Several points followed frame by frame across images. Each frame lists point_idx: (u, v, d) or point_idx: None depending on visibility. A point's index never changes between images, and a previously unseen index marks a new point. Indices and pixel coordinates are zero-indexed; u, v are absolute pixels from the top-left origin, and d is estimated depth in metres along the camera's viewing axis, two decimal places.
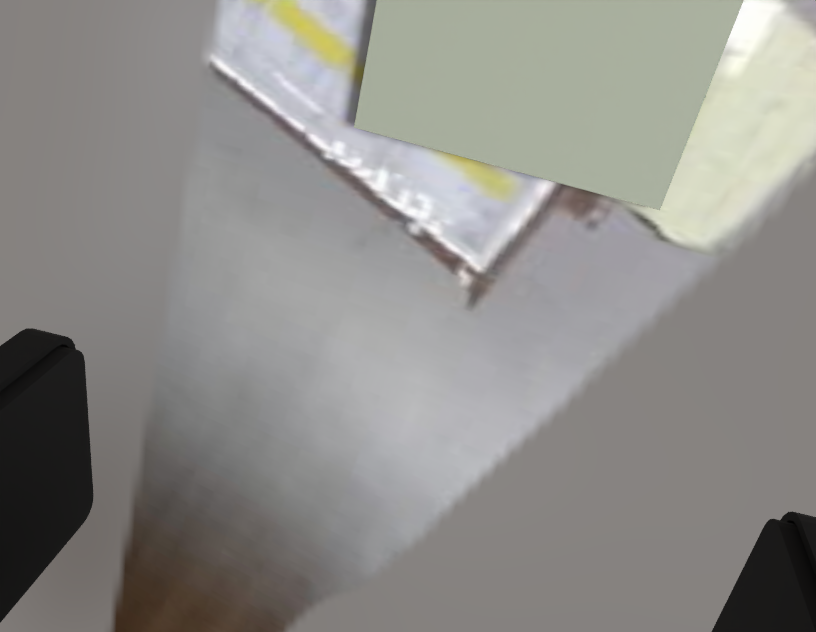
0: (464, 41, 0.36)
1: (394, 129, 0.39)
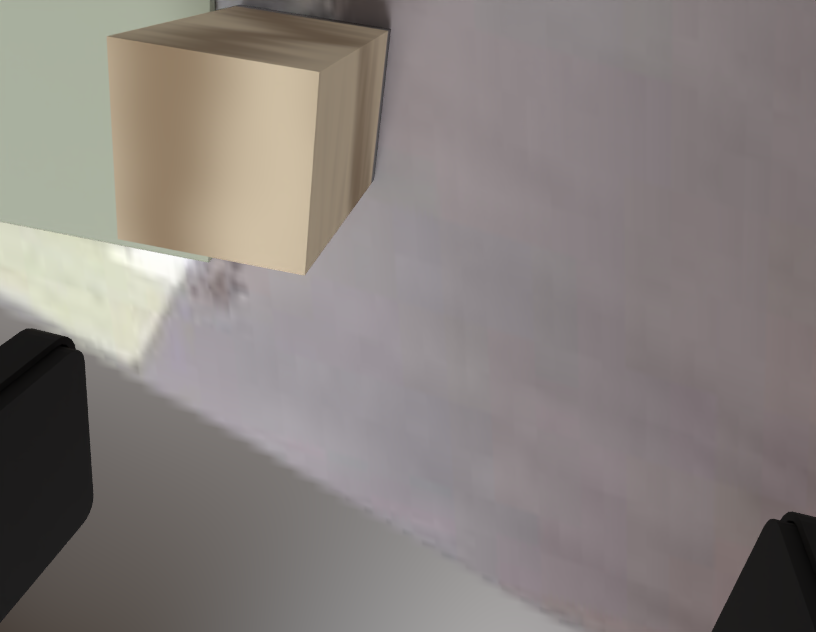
0: None
1: None
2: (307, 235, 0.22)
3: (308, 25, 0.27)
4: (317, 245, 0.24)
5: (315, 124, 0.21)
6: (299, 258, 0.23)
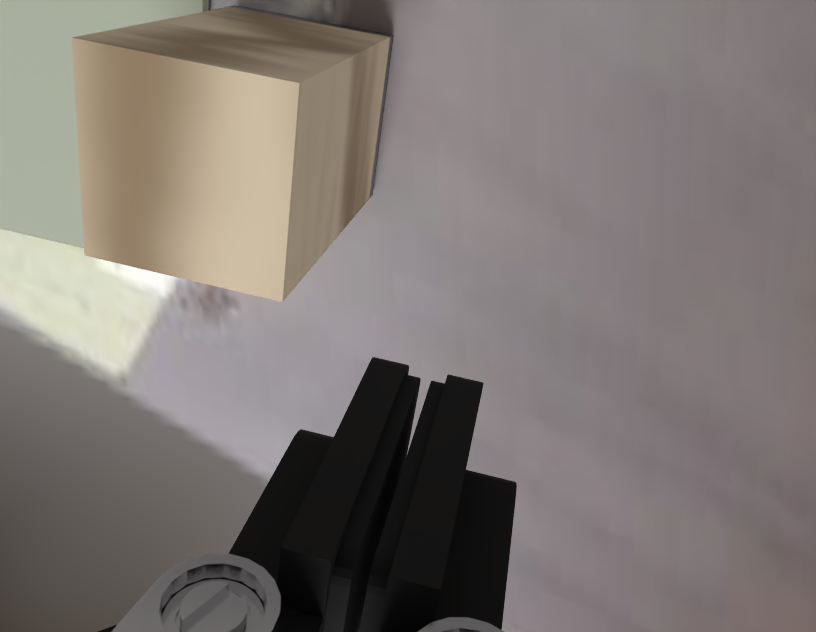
0: None
1: None
2: (285, 260, 0.20)
3: (303, 29, 0.25)
4: (299, 268, 0.22)
5: (295, 140, 0.19)
6: (277, 283, 0.21)
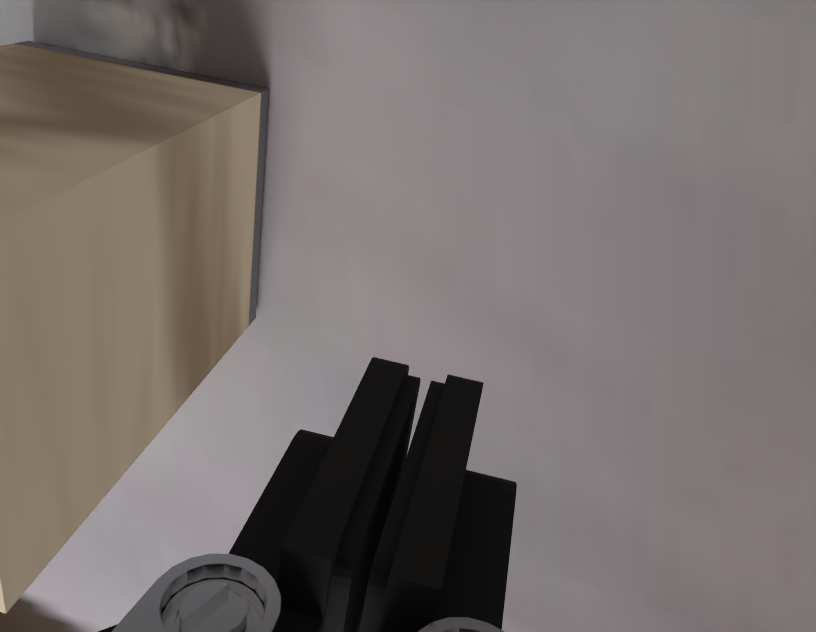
0: None
1: None
2: None
3: (108, 86, 0.15)
4: (55, 531, 0.12)
5: None
6: None
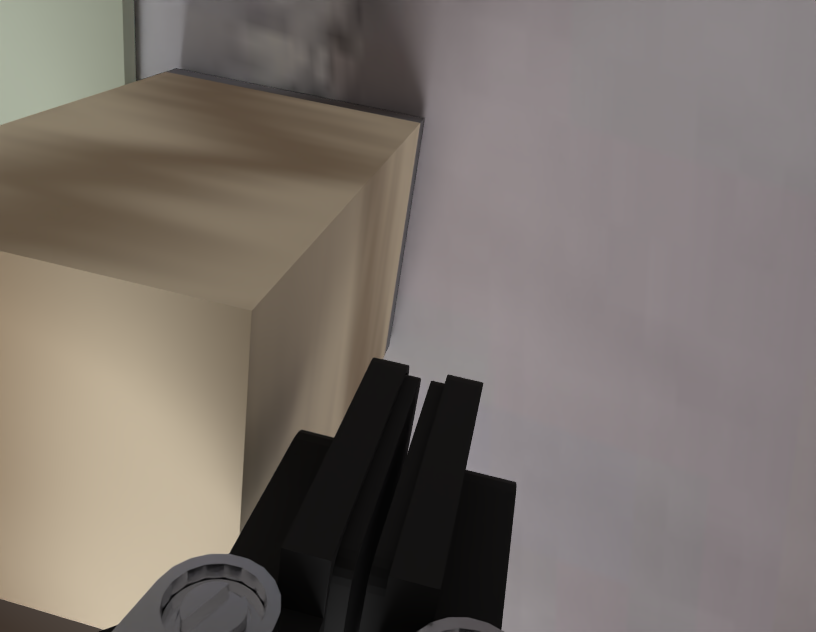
0: None
1: None
2: None
3: (279, 118, 0.15)
4: None
5: (246, 412, 0.09)
6: None
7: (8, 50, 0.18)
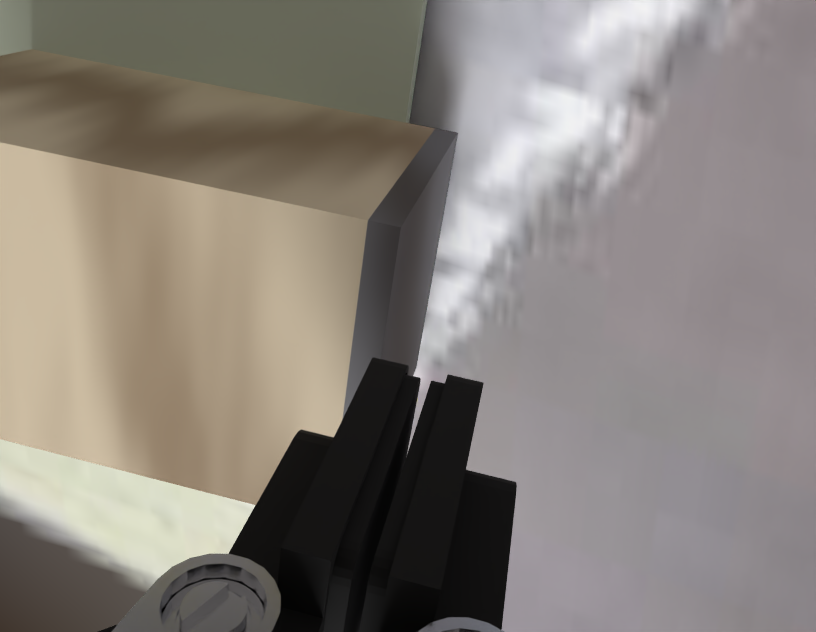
0: (123, 45, 0.17)
1: None
2: None
3: (299, 151, 0.14)
4: None
5: None
6: None
7: None
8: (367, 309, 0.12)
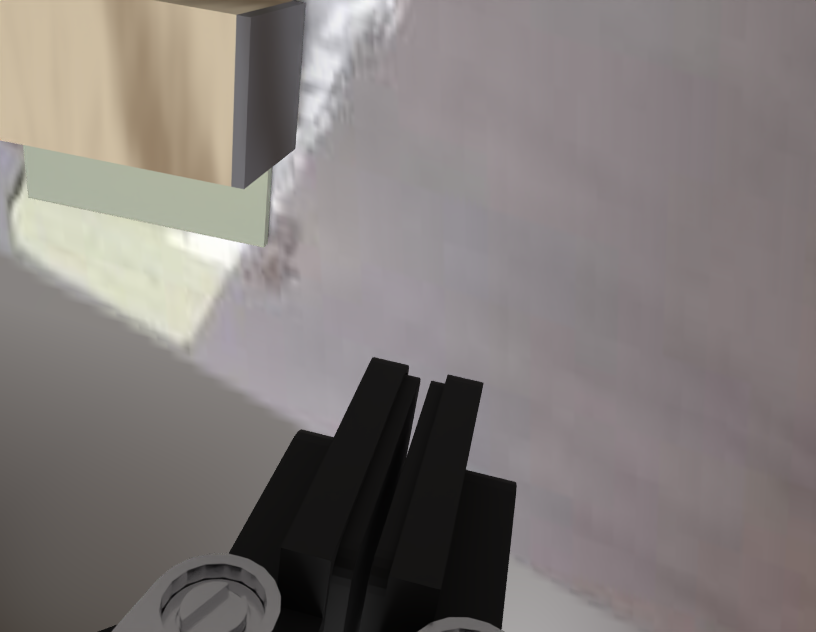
0: None
1: None
2: None
3: None
4: (24, 133, 0.29)
5: None
6: None
7: None
8: (239, 60, 0.26)
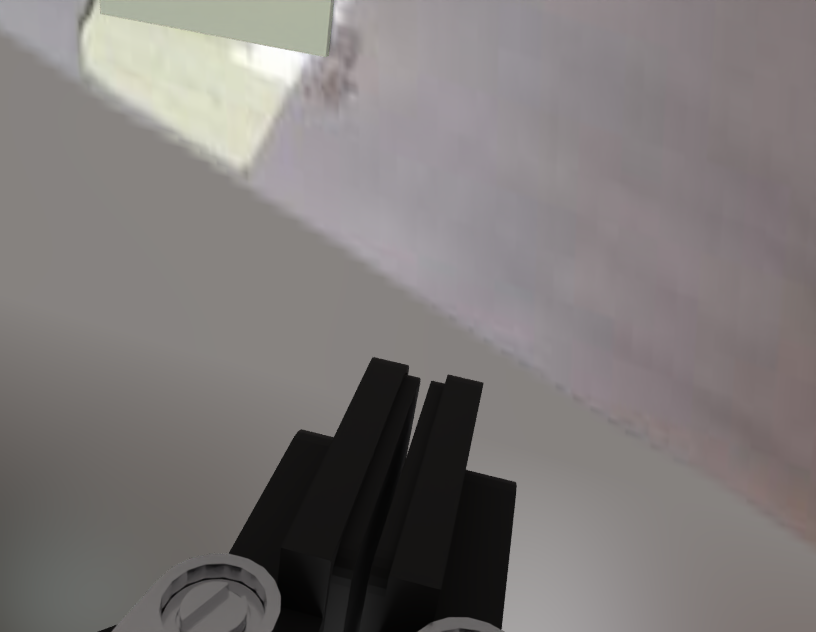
0: None
1: None
2: None
3: None
4: None
5: None
6: None
7: None
8: None
